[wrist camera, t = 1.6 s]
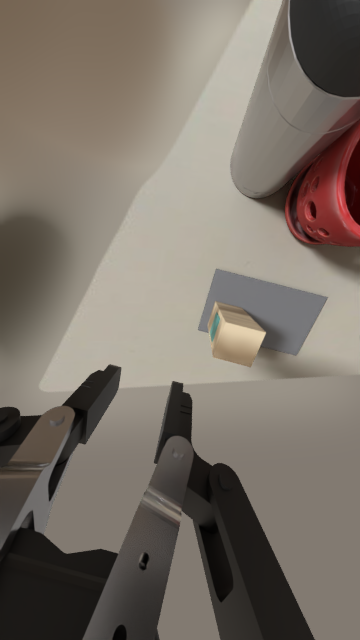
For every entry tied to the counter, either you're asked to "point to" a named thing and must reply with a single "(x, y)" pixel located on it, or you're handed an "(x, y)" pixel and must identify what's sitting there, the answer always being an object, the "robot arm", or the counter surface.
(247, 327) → the maple block
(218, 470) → the robot arm
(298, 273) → the counter surface
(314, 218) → the plant pot
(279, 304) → the rubber mat
